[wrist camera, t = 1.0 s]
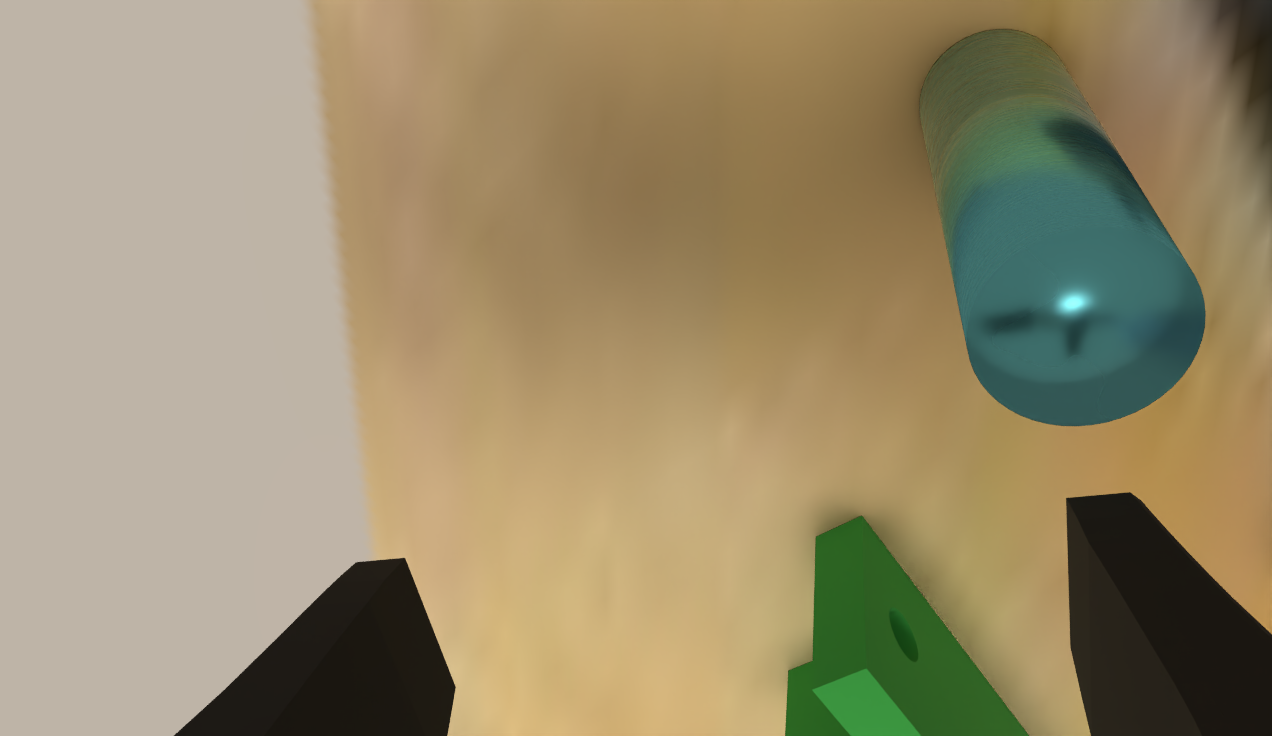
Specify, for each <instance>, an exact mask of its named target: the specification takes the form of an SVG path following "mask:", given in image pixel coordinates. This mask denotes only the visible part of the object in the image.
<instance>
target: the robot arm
mask: <svg viewBox="0 0 1272 736" xmlns="http://www.w3.org/2000/svg"><path fill="white" fill-rule="evenodd" d="M1066 506H1067V540H1068V575H1069V609H1070V644H1071V651H1072V656H1073V660H1074V664H1075V669H1076V673H1077V678H1078V682H1079V687H1080V691H1081V695H1082V700H1083V704H1084V708H1085V712H1086V716H1087V721H1088V725H1089V729H1090V733H1091V736H1272V634H1271V633H1270V632H1268V631H1267V630H1266V629H1265V628H1264V627H1263V626H1262V625H1261V624H1260V623H1259V622H1258V621H1257V620H1256V619H1255V618H1254V617H1253V616H1251V615H1250V614H1249V613H1248V612H1247V611H1246V610H1245V609H1244V608H1243V607H1242V606H1241V605H1240V604H1239V603H1238V602H1237V601H1236V600H1234V599H1233V598H1232V597H1231V596H1230V595H1229V594H1228V593H1227V592H1226V591H1225V590H1224V589H1223V588H1222V587H1221V586H1220V585H1219V584H1218V583H1217V582H1216V581H1215V580H1214V579H1213V578H1212V577H1211V576H1210V575H1209V574H1208V573H1207V572H1206V571H1205V569H1204V568H1203V567H1202V566H1201V565H1200V564H1199V563H1198V562H1197V561H1196V560H1195V559H1194V558H1193V557H1192V556H1191V555H1190V554H1189V553H1188V552H1187V551H1186V550H1185V549H1184V548H1183V547H1182V545H1181V544H1180V543H1179V542H1178V541H1177V540H1176V539H1175V538H1174V537H1173V536H1172V535H1171V534H1170V533H1169V531H1168V530H1167V529H1166V528H1165V527H1164V526H1163V525H1162V524H1161V523H1160V521H1159V520H1158V519H1157V518H1156V517H1155V516H1154V515H1153V514H1152V512H1151V511H1150V510H1149V509H1148V508H1147V507H1146V506H1145V504H1144V503H1143V502H1142V501H1141V500H1140V499H1138V498H1137V497H1136V496H1134V495H1133V494H1132V493H1130V492H1129V493H1118V494H1107V495H1096V496H1085V497H1074V498H1066ZM455 688H456V687H455V684H454V682H453V679H452V677H451V674H450V672H449V669H448V667H447V664H446V661H445V659H444V656H443V654H442V651H441V649H440V646H439V644H438V641H437V638H436V636H435V633H434V631H433V628H432V626H431V623H430V621H429V618H428V616H427V613H426V610H425V608H424V605H423V603H422V600H421V598H420V595H419V593H418V590H417V587H416V585H415V582H414V580H413V577H412V575H411V572H410V570H409V567H408V564H407V562H406V559H405V558H399V559H388V560H377V561H366V562H357V563H355V564H354V565H353V566H351V567H350V568H349V569H348V570H347V571H346V572H345V573H344V574H343V575H341V576H340V577H339V578H338V579H337V580H336V581H335V582H334V583H333V584H332V585H331V586H330V587H329V588H328V589H326V590H325V591H324V592H323V593H322V594H321V595H320V596H319V597H318V598H317V599H316V600H315V601H314V602H313V603H312V604H311V605H310V606H309V607H308V608H307V609H306V610H305V611H304V612H303V613H302V614H301V615H300V616H299V617H298V618H297V619H296V620H295V621H294V622H293V623H292V624H291V625H290V626H289V627H288V628H287V629H286V630H285V631H284V632H283V633H282V634H281V635H280V636H279V637H278V638H277V639H276V640H275V641H274V642H273V643H272V644H271V645H270V646H269V647H268V648H267V649H266V650H265V651H264V652H263V653H262V654H261V655H260V656H259V657H258V658H257V659H255V660H254V661H253V662H252V663H251V664H250V665H249V666H248V667H247V668H246V669H245V670H244V671H243V672H242V673H241V674H240V675H239V676H238V677H237V678H236V679H235V680H234V681H233V682H232V683H231V684H230V685H229V686H228V687H227V688H226V689H225V690H224V691H223V692H222V693H221V694H219V695H218V696H217V697H216V698H215V699H214V700H213V701H212V702H211V703H209V705H207V706H206V707H205V708H204V709H203V710H202V711H201V712H200V713H198V714H197V715H196V716H195V717H194V718H193V719H192V720H191V721H190V722H189V723H187V724H186V725H185V726H184V727H183V728H182V729H181V730H180V731H179V732H178V733H176V734H175V735H174V736H447V734H448V729H449V723H450V717H451V711H452V705H453V699H454V693H455Z"/></svg>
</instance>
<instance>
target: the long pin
mask: <svg viewBox="0 0 1272 736" xmlns="http://www.w3.org/2000/svg"><path fill="white" fill-rule="evenodd" d="M919 111H920V120H921V125H922V130H923V135H924V139H925V144H926V149H927V154H928V159H929V164H930V169H931V174H932V179H933V183H934V188H935V193H936V198H937V203H938V208H939V213H940V218H941V223H942V227H943V232H944V237H945V242H946V247H947V252H948V257H949V262H950V267H951V271H952V276H953V281H954V286H955V291H956V296H957V301H958V306H959V311H960V316H961V320H962V325H963V330H964V335H965V340H966V345H967V350H968V354H969V359H970V362H971V365H972V367H973V370H974V372H975V374H976V376H977V378H978V379H979V381H980V383H981V384H982V385H983V387H984V388H985V389H986V390H987V392H988V393H989V394H990V395H991V396H993V397H994V398H995V399H996V400H997V401H998V402H999V403H1001V404H1002V405H1004V406H1005V407H1006V408H1008V409H1009V410H1011V411H1013V412H1015V413H1017V414H1019V415H1021V416H1023V417H1026V418H1029V419H1031V420H1034V421H1038V422H1042V423H1046V424H1053V425H1060V426H1085V425H1094V424H1100V423H1105V422H1109V421H1113V420H1116V419H1120V418H1122V417H1125V416H1127V415H1130V414H1132V413H1135V412H1137V411H1139V410H1141V409H1142V408H1144V407H1146V406H1148V405H1150V404H1151V403H1153V402H1154V401H1156V400H1157V399H1159V398H1160V397H1161V396H1163V395H1164V394H1165V393H1166V392H1167V391H1168V390H1170V389H1171V388H1172V387H1173V386H1174V385H1175V384H1176V383H1177V382H1178V381H1179V379H1180V378H1181V377H1182V376H1183V375H1184V373H1185V372H1186V371H1187V369H1188V368H1189V367H1190V365H1191V363H1192V361H1193V360H1194V358H1195V356H1196V354H1197V352H1198V349H1199V347H1200V344H1201V341H1202V337H1203V333H1204V328H1205V304H1204V298H1203V295H1202V291H1201V288H1200V286H1199V284H1198V281H1197V279H1196V277H1195V275H1194V274H1193V272H1192V270H1191V269H1190V267H1189V266H1188V264H1187V262H1186V261H1185V259H1184V258H1183V256H1182V254H1181V253H1180V251H1179V249H1178V248H1177V246H1176V245H1175V243H1174V241H1173V240H1172V238H1171V237H1170V235H1169V233H1168V232H1167V230H1166V229H1165V227H1164V225H1163V224H1162V222H1161V221H1160V219H1159V217H1158V216H1157V214H1156V212H1155V211H1154V209H1153V208H1152V206H1151V204H1150V203H1149V201H1148V200H1147V198H1146V196H1145V195H1144V193H1143V192H1142V190H1141V188H1140V187H1139V185H1138V184H1137V182H1136V180H1135V179H1134V177H1133V175H1132V174H1131V172H1130V171H1129V169H1128V167H1127V166H1126V164H1125V163H1124V161H1123V159H1122V158H1121V156H1120V155H1119V153H1118V151H1117V150H1116V148H1115V147H1114V145H1113V143H1112V142H1111V140H1110V138H1109V137H1108V135H1107V134H1106V132H1105V130H1104V129H1103V127H1102V126H1101V124H1100V122H1099V121H1098V119H1097V118H1096V116H1095V114H1094V113H1093V111H1092V109H1091V108H1090V106H1089V105H1088V103H1087V101H1086V100H1085V98H1084V97H1083V95H1082V93H1081V92H1080V90H1079V89H1078V87H1077V85H1076V84H1075V82H1074V81H1073V79H1072V77H1071V76H1070V74H1069V72H1068V71H1067V69H1066V68H1065V66H1064V64H1063V63H1062V61H1061V60H1060V58H1059V57H1058V55H1057V54H1056V53H1055V52H1054V51H1053V50H1052V49H1051V47H1049V46H1048V45H1047V44H1046V43H1044V42H1043V41H1042V40H1040V39H1038V38H1036V37H1035V36H1032V35H1030V34H1027V33H1024V32H1020V31H1016V30H1007V29H999V30H990V31H984V32H981V33H977V34H974V35H972V36H969V37H967V38H965V39H963V40H961V41H959V42H958V43H956V44H955V45H953V46H952V47H951V48H949V49H948V50H947V51H946V52H945V53H944V54H943V55H942V56H941V57H940V58H939V59H938V60H937V61H936V63H935V64H934V65H933V67H932V68H931V70H930V71H929V73H928V75H927V77H926V79H925V82H924V85H923V87H922V91H921V96H920V104H919Z"/></svg>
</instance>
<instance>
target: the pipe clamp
mask: <svg viewBox="0 0 1272 736" xmlns="http://www.w3.org/2000/svg"><path fill="white" fill-rule="evenodd" d="M785 736H1029V735H1028V734H1027V732H1026V731H1025V730H1024V728H1023V727H1022V726H1021V724H1020V723H1019V722H1018V721H1017V719H1016V718H1015V717H1014V715H1013V714H1012V713H1011V711H1010V710H1009V709H1008V707H1007V706H1006V705H1005V703H1004V702H1003V701H1002V699H1001V698H1000V697H999V695H998V694H997V693H996V692H995V690H994V689H993V688H992V686H991V685H990V684H989V682H988V681H987V680H986V678H985V677H984V676H983V674H982V673H981V672H980V670H979V669H978V668H977V667H976V665H975V664H974V663H973V661H972V660H971V659H970V657H969V656H968V655H967V653H966V652H965V651H964V649H963V648H962V647H961V645H960V644H959V643H958V641H957V640H956V639H955V638H954V636H953V635H952V634H951V632H950V631H949V630H948V628H947V627H946V626H945V624H944V623H943V622H942V620H941V619H940V618H939V616H938V615H937V614H936V613H935V611H934V610H933V609H932V607H931V606H930V605H929V603H928V602H927V601H926V599H925V598H924V597H923V595H922V594H921V593H920V591H919V590H918V589H917V588H916V586H915V585H914V584H913V582H912V581H911V580H910V578H909V577H908V576H907V574H906V573H905V572H904V570H903V569H902V568H901V566H900V565H899V564H898V562H897V561H896V560H895V559H894V557H893V556H892V555H891V553H890V552H889V551H888V549H887V548H886V547H885V545H884V544H883V543H882V541H881V540H880V539H879V537H878V536H877V535H876V534H875V532H874V531H873V530H872V528H871V527H870V526H869V524H868V523H867V522H866V520H865V519H864V518H863V516H860V517H858V518H856V519H853V520H851V521H849V522H847V523H845V524H843V525H840V526H838V527H836V528H834V529H832V530H829V531H827V532H825V533H823V534H821V535H819V536H816V547H815V587H814V627H813V661H811V662H809V663H806V664H804V665H801V666H799V667H796V668H794V669H792V670H789V671H788V690H787V710H786V730H785Z"/></svg>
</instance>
